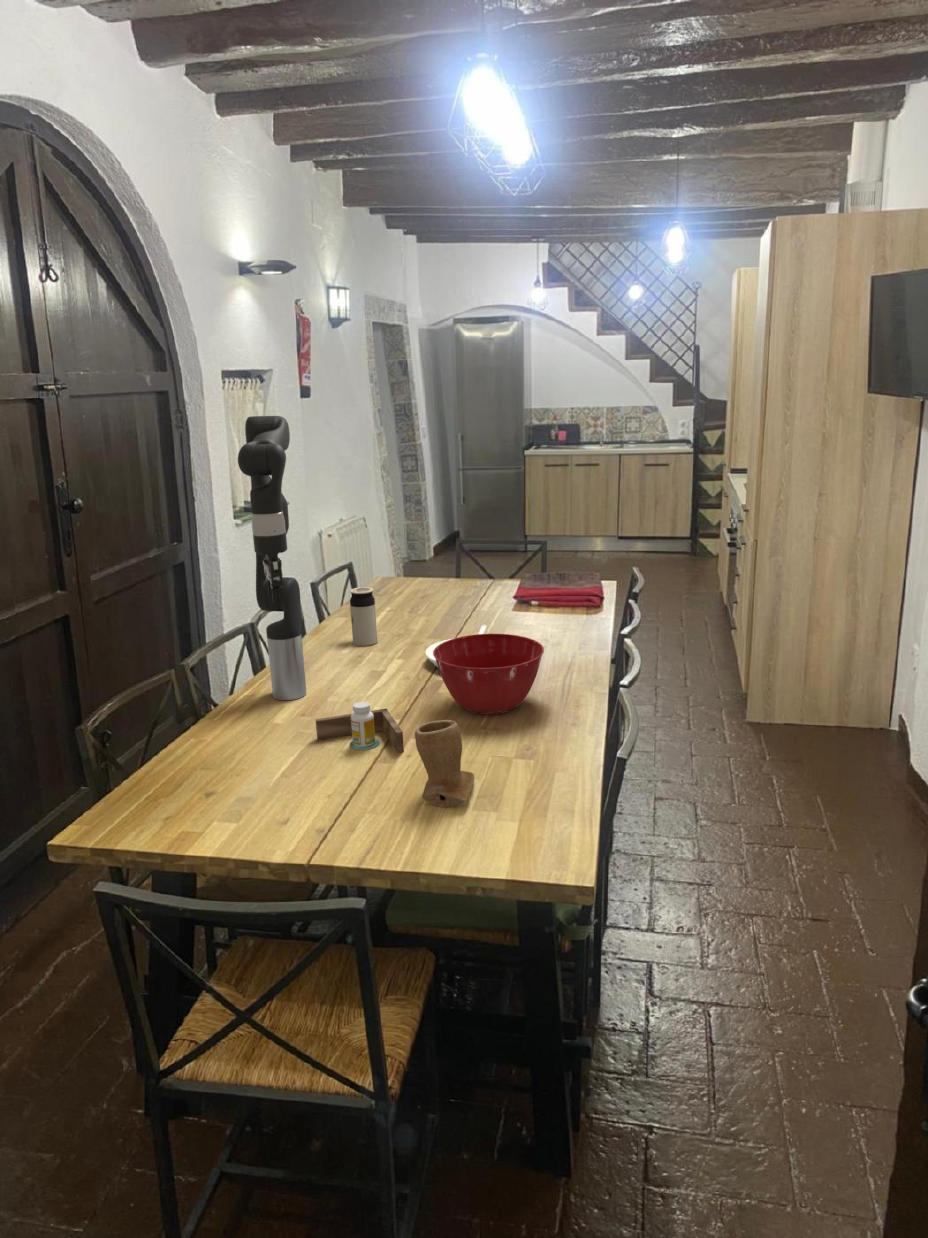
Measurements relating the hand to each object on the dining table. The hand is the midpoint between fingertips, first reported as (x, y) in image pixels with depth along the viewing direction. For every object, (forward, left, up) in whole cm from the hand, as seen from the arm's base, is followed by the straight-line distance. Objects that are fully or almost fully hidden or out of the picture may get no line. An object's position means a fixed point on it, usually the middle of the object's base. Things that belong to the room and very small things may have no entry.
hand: (275, 599), depth 211 cm
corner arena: (+14, +15, -34) cm, 40 cm away
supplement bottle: (+14, +16, -34) cm, 40 cm away
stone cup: (+46, +26, -34) cm, 63 cm away
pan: (-41, +63, -34) cm, 83 cm away
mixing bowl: (+2, +52, -34) cm, 62 cm away
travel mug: (-68, +34, -34) cm, 83 cm away
